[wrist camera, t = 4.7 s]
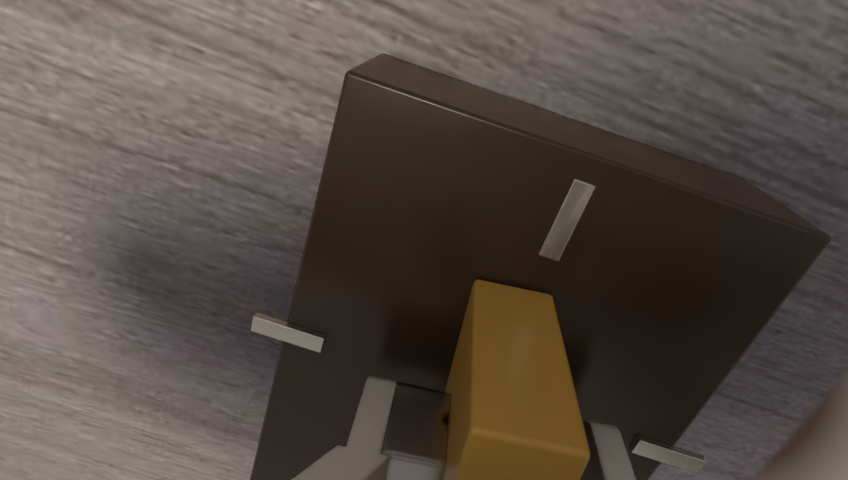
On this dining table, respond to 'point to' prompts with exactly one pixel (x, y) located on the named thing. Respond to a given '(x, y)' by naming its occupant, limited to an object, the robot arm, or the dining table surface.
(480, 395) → the thumbturn
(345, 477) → the robot arm
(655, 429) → the plate
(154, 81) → the dining table surface
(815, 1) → the dining table surface
